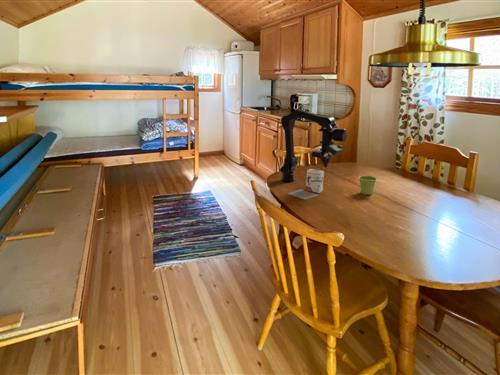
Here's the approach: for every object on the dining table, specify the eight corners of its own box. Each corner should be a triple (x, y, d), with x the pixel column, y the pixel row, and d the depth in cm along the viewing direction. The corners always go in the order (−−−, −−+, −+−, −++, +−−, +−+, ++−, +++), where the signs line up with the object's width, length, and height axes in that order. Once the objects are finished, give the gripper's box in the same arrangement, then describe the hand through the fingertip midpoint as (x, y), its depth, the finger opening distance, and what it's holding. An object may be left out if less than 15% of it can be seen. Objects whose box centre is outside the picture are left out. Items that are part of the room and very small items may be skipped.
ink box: (305, 190, 204) (306, 170, 201) (308, 188, 208) (309, 168, 205) (320, 193, 200) (321, 172, 197) (322, 190, 204) (324, 170, 201)
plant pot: (353, 192, 201) (355, 177, 198) (364, 189, 206) (365, 174, 204) (368, 197, 194) (369, 181, 191) (379, 193, 199) (380, 178, 196)
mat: (287, 193, 200) (287, 193, 200) (301, 189, 207) (301, 189, 207) (304, 199, 191) (304, 199, 191) (318, 195, 197) (318, 195, 197)
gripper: (327, 144, 190) (325, 173, 194) (349, 139, 201) (347, 167, 206) (311, 141, 198) (310, 169, 203) (333, 137, 209) (331, 163, 214)
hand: (325, 167), depth 206 cm, fingers closed
